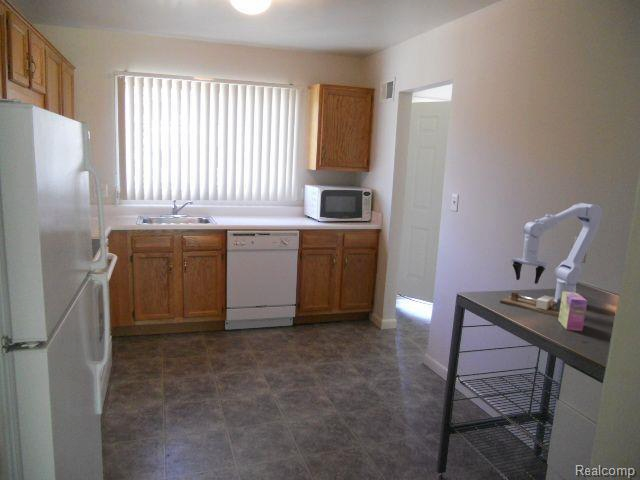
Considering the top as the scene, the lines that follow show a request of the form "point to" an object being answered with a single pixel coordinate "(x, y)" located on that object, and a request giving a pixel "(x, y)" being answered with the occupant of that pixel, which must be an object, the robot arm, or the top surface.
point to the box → (572, 311)
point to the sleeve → (544, 302)
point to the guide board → (527, 304)
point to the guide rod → (532, 299)
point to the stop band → (551, 303)
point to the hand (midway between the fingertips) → (527, 281)
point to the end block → (558, 304)
